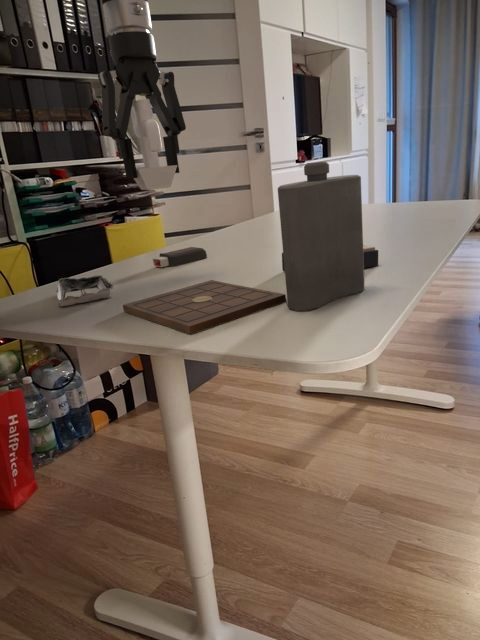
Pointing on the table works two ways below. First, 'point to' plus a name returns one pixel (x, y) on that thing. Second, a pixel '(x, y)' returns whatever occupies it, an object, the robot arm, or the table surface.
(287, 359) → the table surface
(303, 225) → the flask
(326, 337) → the table surface
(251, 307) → the board
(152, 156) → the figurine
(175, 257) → the usb drive
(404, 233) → the table surface
